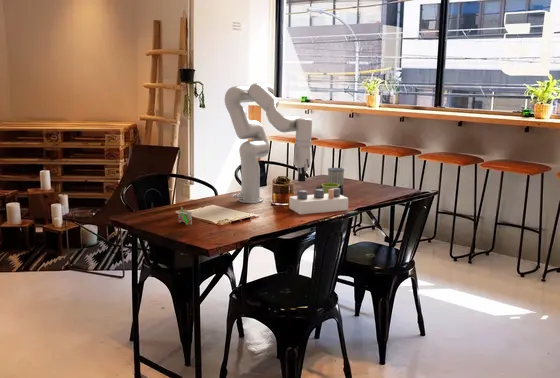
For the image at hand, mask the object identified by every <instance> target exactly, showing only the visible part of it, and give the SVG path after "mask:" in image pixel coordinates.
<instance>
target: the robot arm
mask: <svg viewBox="0 0 560 378" xmlns="http://www.w3.org/2000/svg"><path fill="white" fill-rule="evenodd" d="M253 102H255V103H256V105H258V106H259V107H260V108H261V109H262V110H263V111H264V112H265V115H266V119H267V120H268V122H269V123H270V124H271V125H272V127H274V128H275V130H277V131H279V132H281V133H284V134H285V133H291V132H295V145H294V152H293V153H294V154H293V165H294V167H296V168H297V181H298V182H303V183H304V182H305V181H306V174H307V172H308V171H309V168H310V167H311V147H312V130H313V129H312V128H313V120H312V119H311V118H309V117H301V116H297V115H291V116H290V115H289V116H284V115H283V114H282V113H280V111H279V110H278V109H277V108H278V106H279V102H280V101H279V99H278V98H277V97H276V96H275V89H274V88H273V86H272V85H271V84H270V83H268V82H257V83H252V84H251V85H235V86H231V87H230V88H228V89H227V91H226V92H225V94H224V105H225V108H226V110H227V112H228V113H229V116H230V120H231V123H232V126H233V129H234V131H235V135H236V136H237V137H238V139H240V140H247V141H243V142H242V143H241V145H240V146H239V151H238V152H239V158H240V165H241V168H240V172H241V177H240V178H241V180H240V181H241V187H240V188H241V191H239V193H237V194H236V193H234V194H232V196H231V197H232V199H238V200H237V201H238V202H239V203H243V204H257V203H261V202H263V200H264V199H263V197H260V194H261V193H260V191H261V189H260V187H261V183H260V178H261V177H260V174H261V172H260V171H261V168H260V163H259V161H258V159H259V158H264V157H267V156H268V155H269V153H270V144H269V140H268V138H267V135H266V132H265V129H264V126H263V124H261V122H259V121H258V120H255V119H249V116H248V113H247V111H246V109H245V108H244V107H243V106H242V105H241V104H242V103H244V104H245V103H253ZM249 139H250V140H249Z"/></svg>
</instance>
